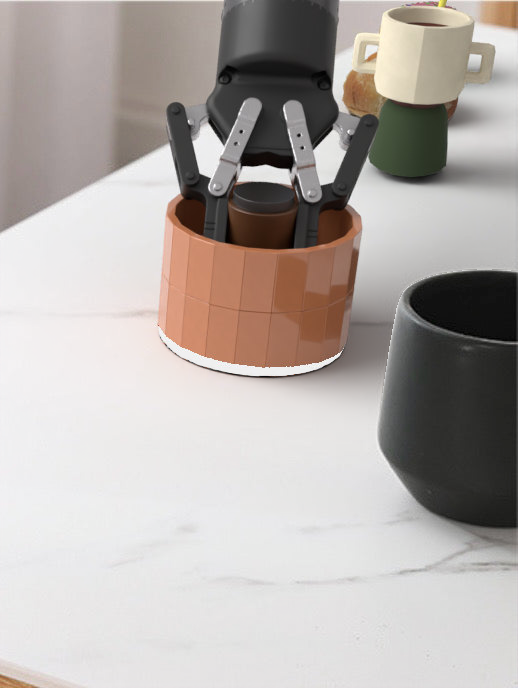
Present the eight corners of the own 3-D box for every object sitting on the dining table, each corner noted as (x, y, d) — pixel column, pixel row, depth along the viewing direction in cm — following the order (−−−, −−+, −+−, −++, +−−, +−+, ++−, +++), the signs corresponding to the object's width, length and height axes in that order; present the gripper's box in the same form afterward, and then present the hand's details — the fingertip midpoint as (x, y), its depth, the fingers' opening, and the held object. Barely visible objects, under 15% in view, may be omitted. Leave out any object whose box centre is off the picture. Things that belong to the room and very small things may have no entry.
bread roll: (352, 163, 143) (378, 98, 136) (319, 86, 149) (343, 20, 142) (455, 157, 144) (485, 91, 138) (418, 80, 150) (445, 14, 144)
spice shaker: (285, 302, 105) (299, 181, 100) (285, 330, 101) (300, 206, 97) (218, 297, 105) (229, 177, 101) (216, 325, 102) (227, 202, 98)
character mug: (476, 165, 132) (502, 11, 126) (470, 193, 126) (498, 33, 120) (344, 150, 135) (363, -1, 129) (333, 177, 130) (352, 21, 123)
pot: (342, 304, 108) (358, 187, 104) (348, 385, 97) (366, 259, 93) (164, 290, 110) (172, 175, 106) (151, 368, 100) (160, 244, 96)
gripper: (171, -14, 102) (144, 230, 97) (398, -3, 99) (382, 248, 94) (170, 45, 109) (144, 274, 104) (382, 56, 106) (366, 292, 101)
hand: (258, 260), depth 99 cm, fingers closed on spice shaker, 4 cm apart
